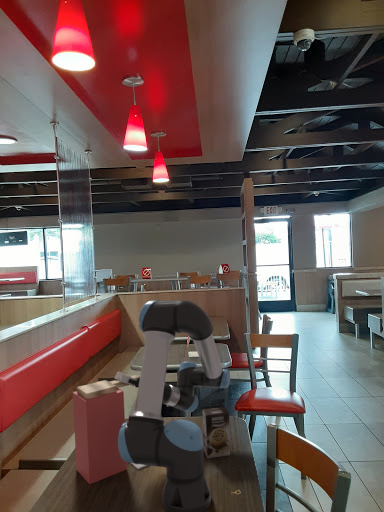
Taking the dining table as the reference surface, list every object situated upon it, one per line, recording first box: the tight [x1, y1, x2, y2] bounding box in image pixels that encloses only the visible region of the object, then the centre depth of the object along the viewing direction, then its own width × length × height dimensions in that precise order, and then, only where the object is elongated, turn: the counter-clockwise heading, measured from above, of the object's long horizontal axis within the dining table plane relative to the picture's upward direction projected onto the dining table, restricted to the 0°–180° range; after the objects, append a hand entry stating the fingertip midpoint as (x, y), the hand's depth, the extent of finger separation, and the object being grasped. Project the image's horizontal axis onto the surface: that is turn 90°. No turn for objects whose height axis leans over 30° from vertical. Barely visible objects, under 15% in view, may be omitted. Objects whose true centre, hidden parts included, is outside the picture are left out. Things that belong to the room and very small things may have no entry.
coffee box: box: [202, 406, 231, 459], centre depth 151 cm, size 9×6×16 cm
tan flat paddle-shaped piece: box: [76, 374, 140, 399], centre depth 146 cm, size 23×9×2 cm, turn 127°
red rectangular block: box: [72, 388, 128, 485], centre depth 143 cm, size 14×12×28 cm
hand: (118, 376), depth 147 cm, fingers closed on tan flat paddle-shaped piece, 3 cm apart
